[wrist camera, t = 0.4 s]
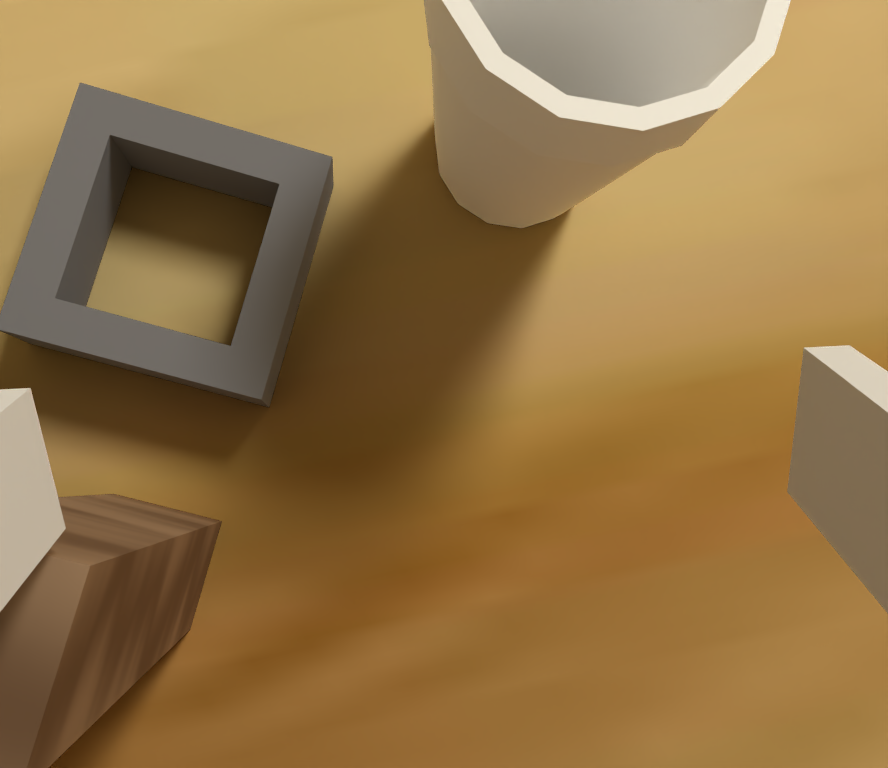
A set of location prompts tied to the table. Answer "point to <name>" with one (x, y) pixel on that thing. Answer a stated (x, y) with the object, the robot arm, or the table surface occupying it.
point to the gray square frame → (91, 219)
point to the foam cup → (579, 91)
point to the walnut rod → (95, 618)
